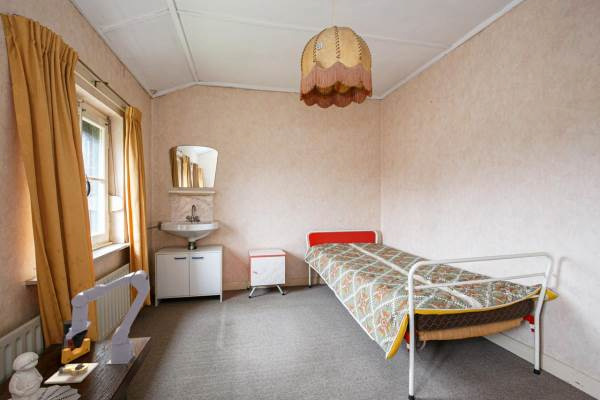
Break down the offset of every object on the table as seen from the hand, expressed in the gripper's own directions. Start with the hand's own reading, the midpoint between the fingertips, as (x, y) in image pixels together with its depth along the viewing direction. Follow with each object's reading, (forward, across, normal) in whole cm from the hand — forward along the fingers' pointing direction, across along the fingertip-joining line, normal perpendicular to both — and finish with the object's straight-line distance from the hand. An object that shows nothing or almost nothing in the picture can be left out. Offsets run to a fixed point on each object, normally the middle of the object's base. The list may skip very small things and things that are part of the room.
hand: (78, 347), depth 126 cm
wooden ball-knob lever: (+8, +6, +2) cm, 10 cm away
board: (+9, +6, +2) cm, 11 cm away
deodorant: (+9, -16, -13) cm, 23 cm away
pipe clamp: (+10, -9, -7) cm, 15 cm away
